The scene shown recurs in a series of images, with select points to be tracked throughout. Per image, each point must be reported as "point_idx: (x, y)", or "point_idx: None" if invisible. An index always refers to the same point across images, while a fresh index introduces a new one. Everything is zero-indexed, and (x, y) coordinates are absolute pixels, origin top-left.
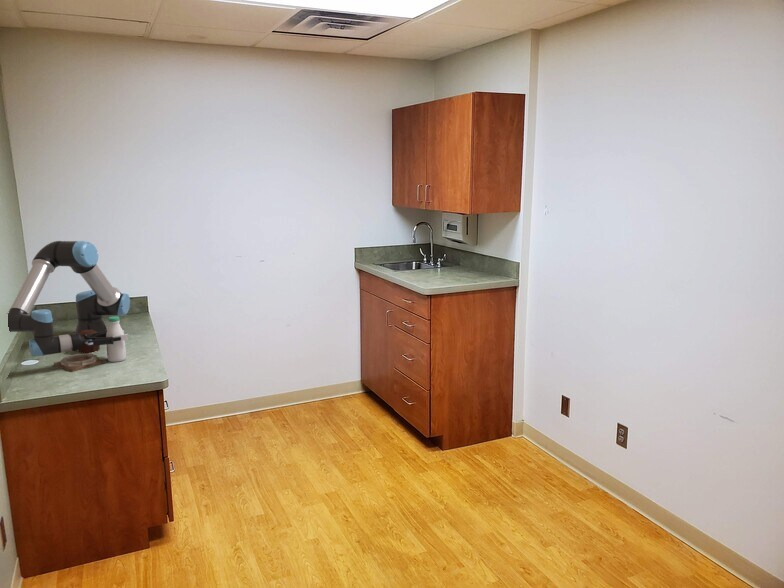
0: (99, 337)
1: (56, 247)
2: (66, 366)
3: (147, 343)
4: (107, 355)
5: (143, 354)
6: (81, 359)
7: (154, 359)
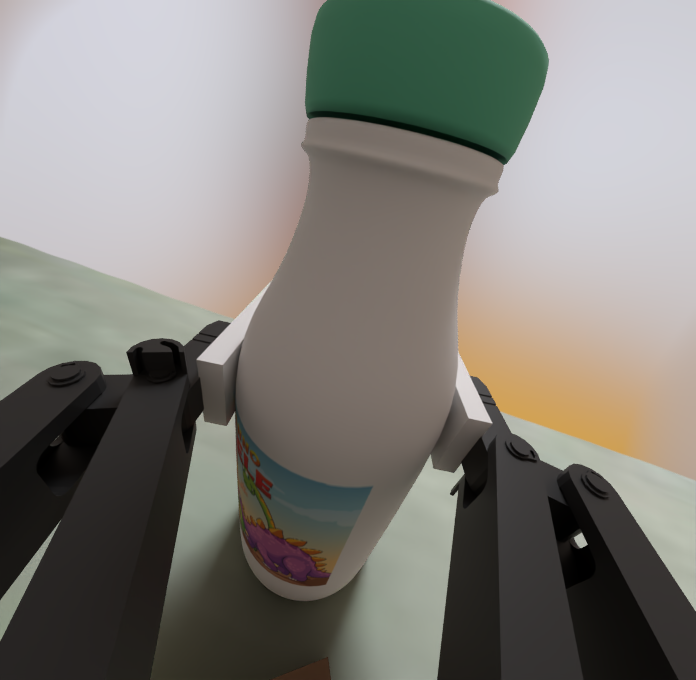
0: (156, 577)
1: None
2: None
3: (171, 308)
4: (292, 585)
5: None
6: None
7: None
